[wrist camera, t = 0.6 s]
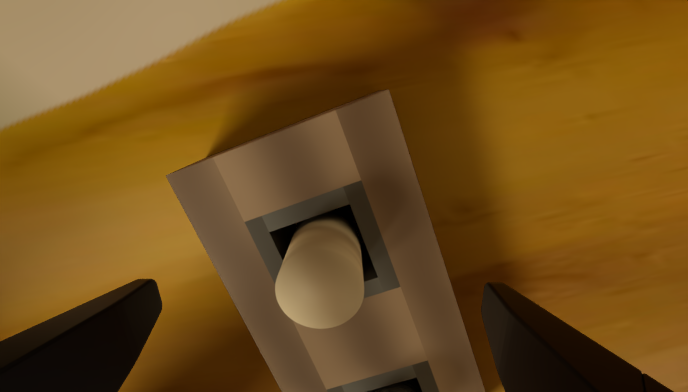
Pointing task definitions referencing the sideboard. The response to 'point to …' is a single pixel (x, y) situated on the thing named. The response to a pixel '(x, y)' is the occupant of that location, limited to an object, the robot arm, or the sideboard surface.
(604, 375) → the robot arm
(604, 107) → the sideboard surface
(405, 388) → the metal peg
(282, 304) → the beech peg
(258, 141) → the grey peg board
